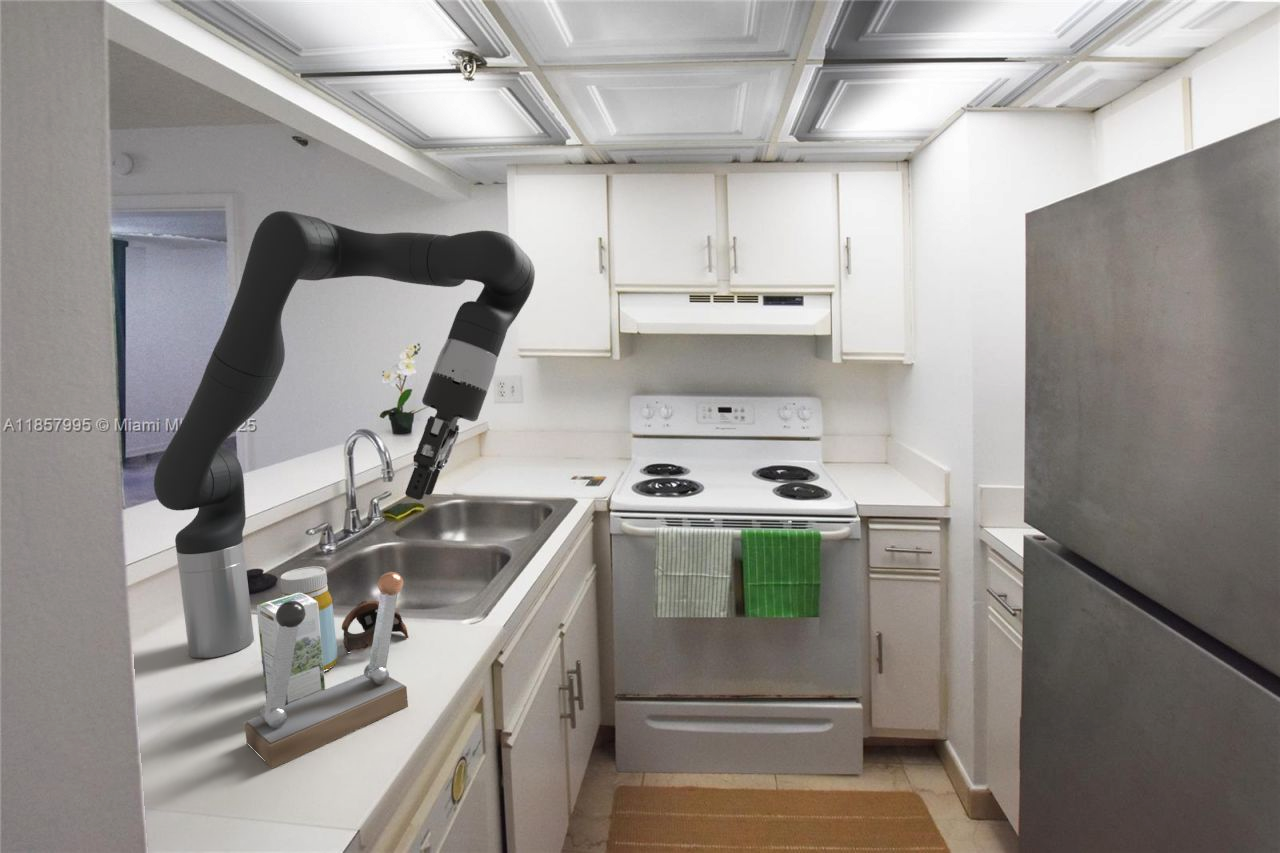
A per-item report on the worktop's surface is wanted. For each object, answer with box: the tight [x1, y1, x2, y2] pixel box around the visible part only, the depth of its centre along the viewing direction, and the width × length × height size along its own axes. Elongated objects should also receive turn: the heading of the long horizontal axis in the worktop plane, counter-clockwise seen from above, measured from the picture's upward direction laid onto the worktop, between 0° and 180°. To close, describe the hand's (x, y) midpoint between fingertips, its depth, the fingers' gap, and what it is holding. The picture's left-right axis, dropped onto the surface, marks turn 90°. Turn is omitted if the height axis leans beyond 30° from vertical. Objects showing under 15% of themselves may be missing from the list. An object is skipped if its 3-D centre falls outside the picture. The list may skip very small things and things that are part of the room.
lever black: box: [259, 601, 305, 728], centre depth 81 cm, size 3×3×15 cm
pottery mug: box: [341, 600, 410, 653], centre depth 110 cm, size 12×10×8 cm
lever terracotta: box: [363, 571, 404, 685], centre depth 91 cm, size 3×3×15 cm
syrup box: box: [256, 593, 326, 705], centre depth 91 cm, size 6×6×14 cm
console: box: [244, 673, 409, 769], centre depth 85 cm, size 8×17×3 cm, turn 139°
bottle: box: [280, 566, 338, 670], centre depth 101 cm, size 7×7×15 cm
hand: (418, 495), depth 88 cm, fingers open, 8 cm apart
